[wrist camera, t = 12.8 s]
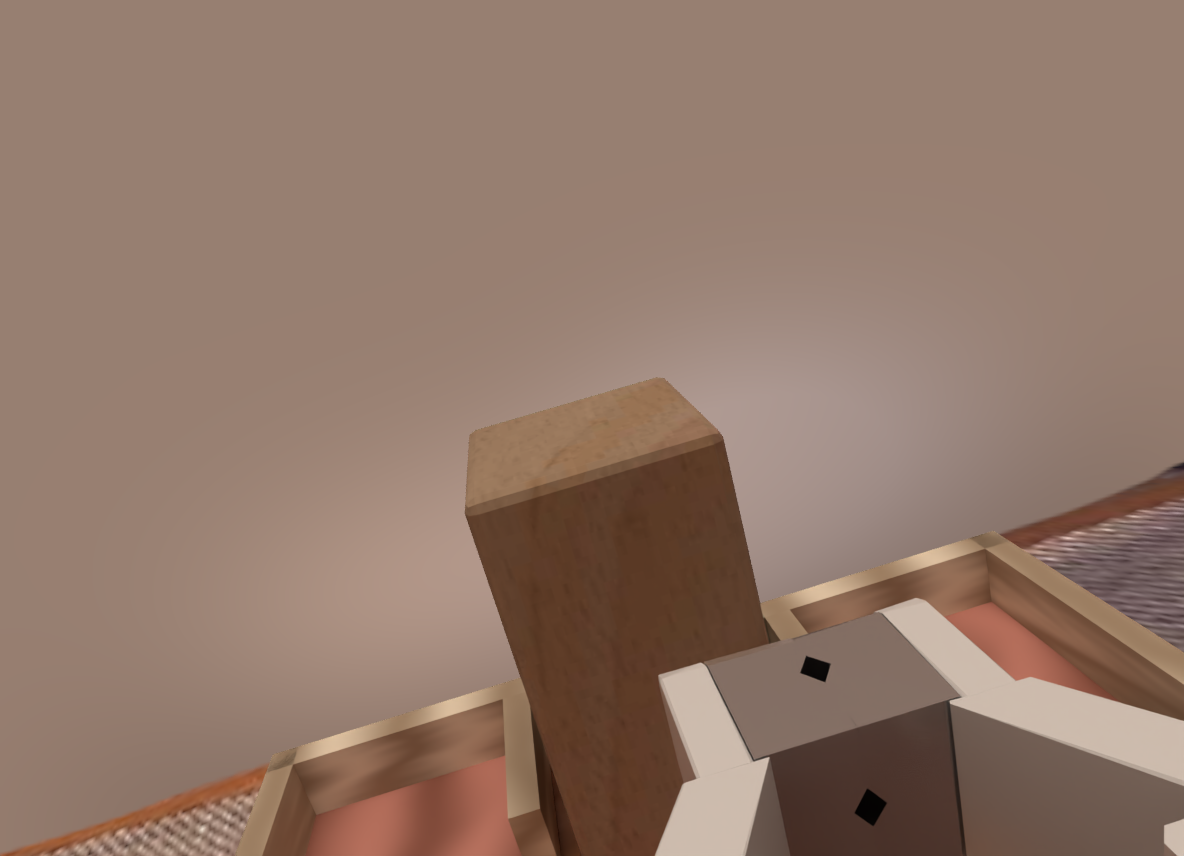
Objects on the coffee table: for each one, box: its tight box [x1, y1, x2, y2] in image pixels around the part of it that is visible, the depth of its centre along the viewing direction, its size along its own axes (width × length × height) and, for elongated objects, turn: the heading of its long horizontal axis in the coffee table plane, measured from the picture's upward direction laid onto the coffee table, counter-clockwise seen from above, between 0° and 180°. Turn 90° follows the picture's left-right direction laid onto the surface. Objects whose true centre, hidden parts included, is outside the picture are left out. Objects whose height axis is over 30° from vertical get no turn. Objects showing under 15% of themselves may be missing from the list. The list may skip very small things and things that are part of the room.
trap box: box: [235, 531, 1184, 856], centre depth 36 cm, size 44×23×4 cm, turn 98°
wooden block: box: [465, 378, 769, 856], centre depth 36 cm, size 10×10×20 cm
